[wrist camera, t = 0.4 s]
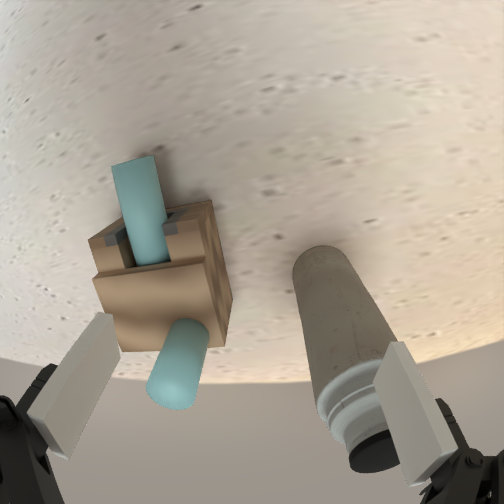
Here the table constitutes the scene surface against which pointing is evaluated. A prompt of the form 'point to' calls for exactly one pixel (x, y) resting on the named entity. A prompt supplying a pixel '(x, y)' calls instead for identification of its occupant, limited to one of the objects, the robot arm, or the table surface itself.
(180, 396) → the dowel
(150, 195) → the dowel peg
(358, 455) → the thermos bottle
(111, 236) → the walnut socket block
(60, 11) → the table surface
